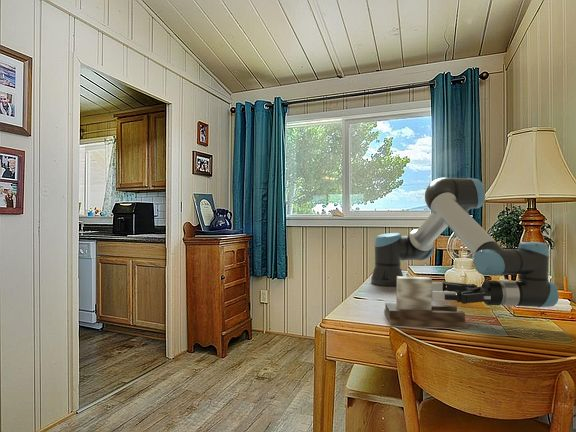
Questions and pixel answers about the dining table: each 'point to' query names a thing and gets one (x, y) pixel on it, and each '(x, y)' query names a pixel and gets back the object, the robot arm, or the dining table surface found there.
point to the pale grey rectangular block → (414, 293)
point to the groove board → (426, 323)
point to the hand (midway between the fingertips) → (426, 290)
